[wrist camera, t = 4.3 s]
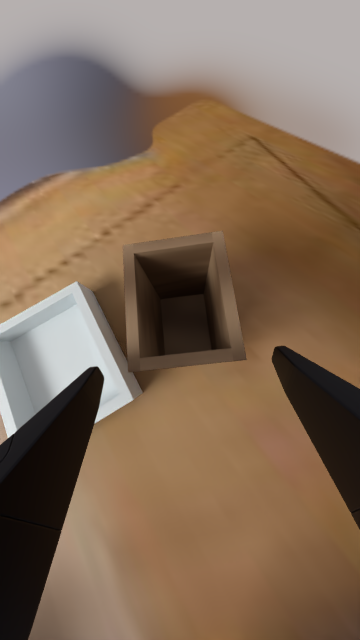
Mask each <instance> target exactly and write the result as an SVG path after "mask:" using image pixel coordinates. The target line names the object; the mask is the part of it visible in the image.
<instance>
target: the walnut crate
mask: <svg viewBox="0 0 360 640" xmlns="http://www.w3.org/2000/svg"><path fill="white" fill-rule="evenodd" d="M123 264H124V288H125V312H126V336H127V360H128V372H137V371H146V370H155V369H165V368H174V367H184V366H193V365H202V364H212V363H221V362H230V361H240V360H247V359H246V354H245V348H244V343H243V337H242V332H241V327H240V321H239V316H238V310H237V305H236V300H235V294H234V289H233V283H232V278H231V273H230V267H229V262H228V256H227V251H226V246H225V240H224V235H223V231H218V232H211V233H204V234H197V235H190V236H183V237H176V238H169V239H163V240H156V241H149V242H142V243H135V244H128V245H123Z"/></svg>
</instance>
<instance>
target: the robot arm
mask: <svg viewBox="0 0 360 640" xmlns="http://www.w3.org/2000/svg"><path fill="white" fill-rule="evenodd" d="M272 363H273V365H274V367H275V370H276V372H277V375H278V377H279V379H280V382H281V384H282V387H283V389H284V391H285V393H286V395H287V397H288V399H289V401H290V403H291V404H292V406H293V408H294V410H295V412H296V414H297V415H298V417H299V419H300V421H301V423H302V425H303V426H304V428H305V430H306V432H307V434H308V435H309V437H310V439H311V441H312V443H313V445H314V446H315V448H316V450H317V452H318V454H319V456H320V457H321V459H322V461H323V463H324V465H325V467H326V468H327V470H328V472H329V474H330V476H331V478H332V479H333V481H334V483H335V485H336V487H337V489H338V490H339V492H340V494H341V496H342V498H343V500H344V501H345V503H346V505H347V507H348V509H349V511H350V512H351V514H352V516H353V518H354V520H355V522H356V524H357V526H358V527H359V529H360V389H359V388H357V387H355V386H354V385H352V384H350V383H348V382H347V381H345V380H343V379H341V378H340V377H338V376H336V375H334V374H333V373H331V372H329V371H327V370H326V369H324V368H322V367H321V366H319V365H317V364H315V363H314V362H312V361H310V360H308V359H307V358H305V357H303V356H301V355H300V354H298V353H296V352H294V351H293V350H291V349H289V348H288V347H286V346H277V347H275V348H274V352H273V356H272ZM103 385H104V375H103V374H102V372H101V370H100V369H99V367H98V366H94V367H89V368H88V369H86V370H85V371H84V372H83V373H82V374H81V375H80V376H78V377H77V378H76V379H75V380H74V381H73V382H72V383H71V384H69V385H68V386H67V387H66V388H65V389H64V390H63V391H61V392H60V393H59V394H58V395H57V396H56V397H55V398H53V399H52V400H51V401H50V402H49V403H48V404H47V405H45V406H44V407H43V408H42V409H41V410H40V411H39V412H37V413H36V414H35V415H34V416H33V417H32V418H31V419H30V420H28V421H27V422H26V423H25V424H24V425H23V426H22V427H20V428H19V429H18V430H17V431H16V432H15V434H12V435H11V436H10V437H9V438H8V439H7V440H6V441H4V442H3V443H2V444H1V445H0V640H28V638H29V635H30V632H31V629H32V626H33V623H34V619H35V616H36V613H37V610H38V606H39V603H40V600H41V596H42V593H43V590H44V587H45V583H46V580H47V577H48V574H49V570H50V567H51V564H52V561H53V557H54V554H55V551H56V547H57V544H58V541H59V538H60V534H61V530H62V527H63V524H64V521H65V518H66V514H67V511H68V508H69V504H70V501H71V498H72V495H73V491H74V488H75V485H76V482H77V478H78V475H79V472H80V469H81V465H82V462H83V459H84V455H85V452H86V449H87V446H88V442H89V439H90V436H91V433H92V429H93V426H94V423H95V420H96V416H97V413H98V409H99V405H100V400H101V395H102V390H103Z"/></svg>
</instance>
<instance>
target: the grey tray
mask: <svg viewBox="0 0 360 640" xmlns="http://www.w3.org/2000/svg"><path fill="white" fill-rule="evenodd" d="M94 366H98V367H99V369H100V370H101V372H102V374H103V375H104V385H103V390H102V395H101V400H100V405H99V409H98V413H97V416H96V420H95V423H96V422H98V421H99V420H101V419H103V418H104V417H106V416H108V415H109V414H111V413H113V412H114V411H116V410H118V409H119V408H121V407H122V406H124V405H126V404H127V403H129V402H131V401H132V400H134V399H135V398H136V397H138V396H139V395H140V394H142V393H143V392H142V390H141V388H140V386H139V384H138V382H137V380H136V378H135V376H134V374H133V372H128V362H127V360H126V358H125V356H124V354H123V352H122V350H121V348H120V346H119V344H118V342H117V340H116V338H115V335H114V333H113V331H112V329H111V327H110V325H109V323H108V321H107V319H106V317H105V315H104V313H103V311H102V309H101V307H100V305H99V303H98V301H97V299H96V297H95V295H94V293H93V291H91V290H90V289H88V288H87V287H85V286H84V285H82V284H80V283H79V282H77V281H76V282H75V283H73V284H71V285H69V286H67V287H66V288H64V289H62V290H60V291H59V292H57V293H55V294H53V295H52V296H50V297H48V298H46V299H44V300H43V301H41V302H39V303H37V304H36V305H34V306H32V307H30V308H28V309H27V310H25V311H23V312H21V313H20V314H18V315H16V316H14V317H13V318H11V319H9V320H7V321H5V322H4V323H2V324H0V412H1V416H2V419H3V422H4V426H5V429H6V432H7V436H8V438H9V437H10V436H11V435H12V434H15V432H16V431H17V430H18V429H19V428H20V427H22V426H23V425H24V424H25V423H26V422H27V421H28V420H30V419H31V418H32V417H33V416H34V415H35V414H36V413H37V412H39V411H40V410H41V409H42V408H43V407H44V406H45V405H47V404H48V403H49V402H50V401H51V400H52V399H53V398H55V397H56V396H57V395H58V394H59V393H60V392H61V391H63V390H64V389H65V388H66V387H67V386H68V385H69V384H71V383H72V382H73V381H74V380H75V379H76V378H77V377H78V376H80V375H81V374H82V373H83V372H84V371H85V370H86V369H88V368H89V367H94Z"/></svg>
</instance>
